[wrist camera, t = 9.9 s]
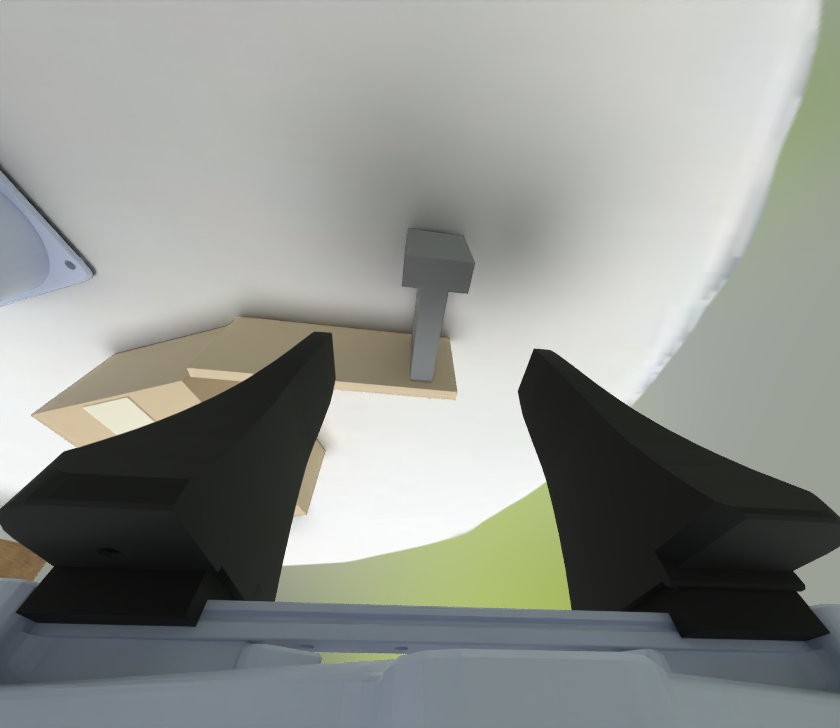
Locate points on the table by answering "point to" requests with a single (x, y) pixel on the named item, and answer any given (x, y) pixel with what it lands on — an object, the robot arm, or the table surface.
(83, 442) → the carton
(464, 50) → the table surface
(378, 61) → the table surface
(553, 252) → the table surface
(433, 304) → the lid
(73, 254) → the robot arm
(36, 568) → the coffee cup
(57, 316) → the table surface
